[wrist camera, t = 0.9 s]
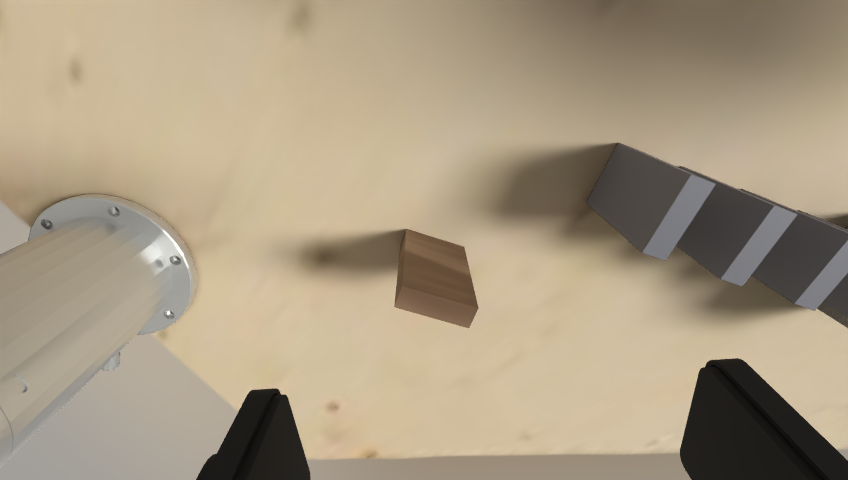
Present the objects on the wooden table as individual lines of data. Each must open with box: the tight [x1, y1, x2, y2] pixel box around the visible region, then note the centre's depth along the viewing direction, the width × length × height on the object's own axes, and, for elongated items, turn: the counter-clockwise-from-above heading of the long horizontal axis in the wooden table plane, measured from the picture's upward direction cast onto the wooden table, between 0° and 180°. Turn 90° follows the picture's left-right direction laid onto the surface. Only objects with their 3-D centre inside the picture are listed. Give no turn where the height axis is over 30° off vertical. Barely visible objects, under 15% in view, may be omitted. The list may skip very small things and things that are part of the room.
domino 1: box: [394, 229, 478, 328], centre depth 30 cm, size 2×5×9 cm, turn 71°
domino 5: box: [798, 211, 848, 317], centre depth 30 cm, size 2×5×9 cm, turn 161°
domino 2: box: [586, 143, 716, 261], centre depth 28 cm, size 2×5×9 cm, turn 161°
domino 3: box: [676, 166, 797, 286], centre depth 28 cm, size 2×5×9 cm, turn 161°
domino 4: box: [741, 189, 848, 311], centre depth 29 cm, size 2×5×9 cm, turn 161°
